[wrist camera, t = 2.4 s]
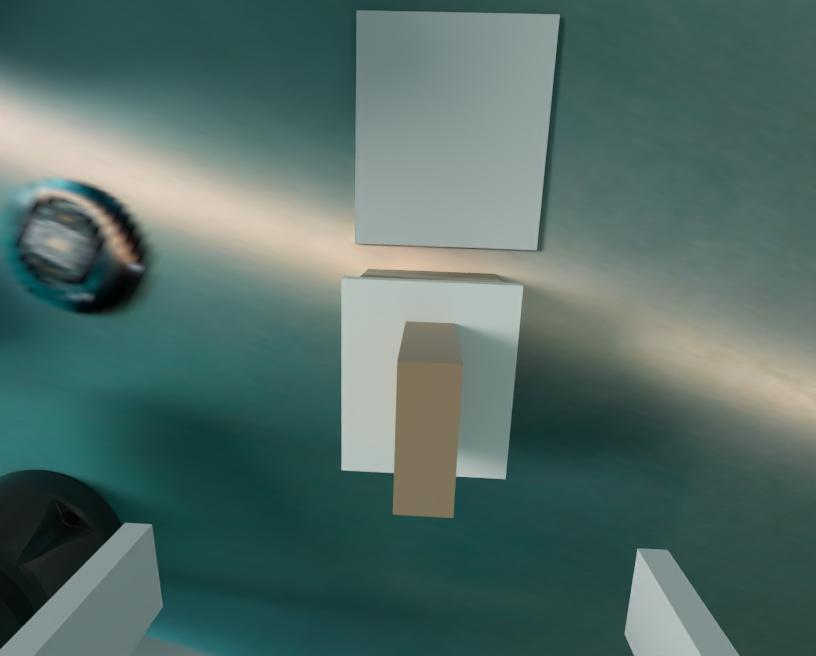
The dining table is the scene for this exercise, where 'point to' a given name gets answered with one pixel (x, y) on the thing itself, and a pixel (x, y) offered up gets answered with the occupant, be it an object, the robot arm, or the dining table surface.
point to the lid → (428, 384)
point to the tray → (452, 127)
